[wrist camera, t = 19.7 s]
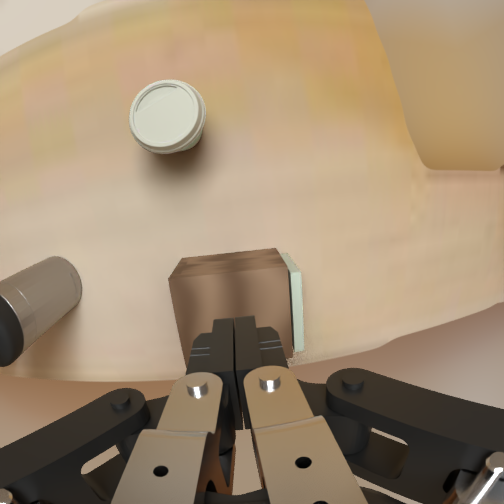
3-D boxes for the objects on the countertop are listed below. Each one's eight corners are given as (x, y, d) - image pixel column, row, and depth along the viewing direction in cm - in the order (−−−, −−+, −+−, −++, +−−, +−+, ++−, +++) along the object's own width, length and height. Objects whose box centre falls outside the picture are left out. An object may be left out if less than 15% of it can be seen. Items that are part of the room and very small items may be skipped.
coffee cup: (214, 102, 40) (207, 74, 28) (209, 161, 41) (200, 153, 30) (155, 102, 39) (129, 77, 27) (150, 160, 41) (120, 152, 29)
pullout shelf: (203, 329, 46) (196, 362, 37) (192, 263, 44) (181, 284, 34) (291, 319, 46) (304, 350, 37) (287, 253, 44) (300, 271, 35)
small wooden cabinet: (194, 332, 47) (186, 368, 37) (182, 258, 44) (168, 278, 34) (281, 323, 47) (292, 357, 37) (275, 248, 44) (287, 266, 35)
